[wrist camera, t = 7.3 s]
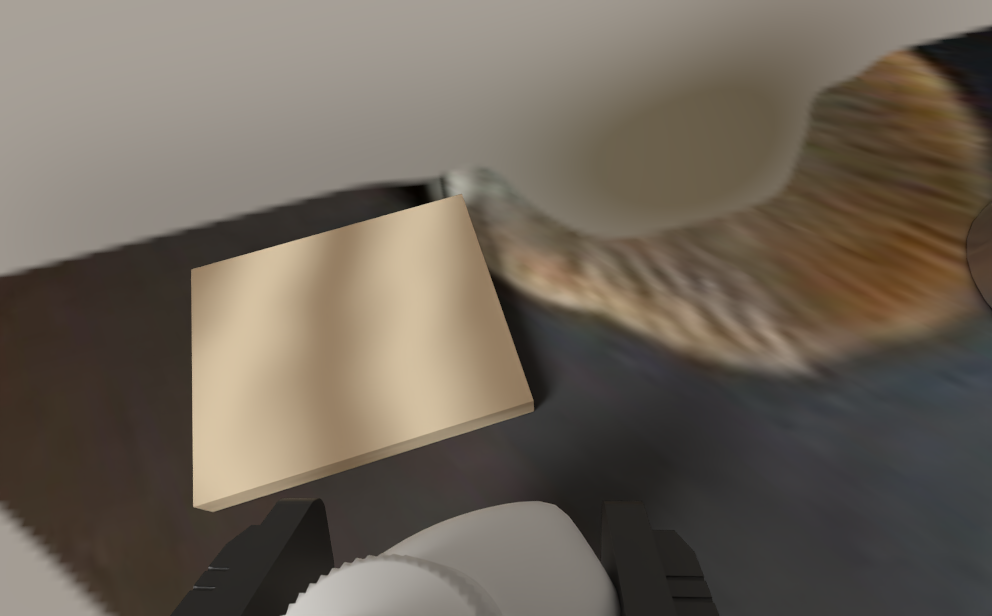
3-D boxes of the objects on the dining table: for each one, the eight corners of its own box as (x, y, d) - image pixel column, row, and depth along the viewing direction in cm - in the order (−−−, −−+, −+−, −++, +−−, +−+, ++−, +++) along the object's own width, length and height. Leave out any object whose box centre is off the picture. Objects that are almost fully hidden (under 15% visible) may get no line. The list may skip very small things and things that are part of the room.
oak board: (465, 211, 24) (461, 194, 23) (533, 411, 20) (533, 400, 19) (207, 284, 23) (191, 269, 22) (212, 512, 19) (193, 507, 18)
